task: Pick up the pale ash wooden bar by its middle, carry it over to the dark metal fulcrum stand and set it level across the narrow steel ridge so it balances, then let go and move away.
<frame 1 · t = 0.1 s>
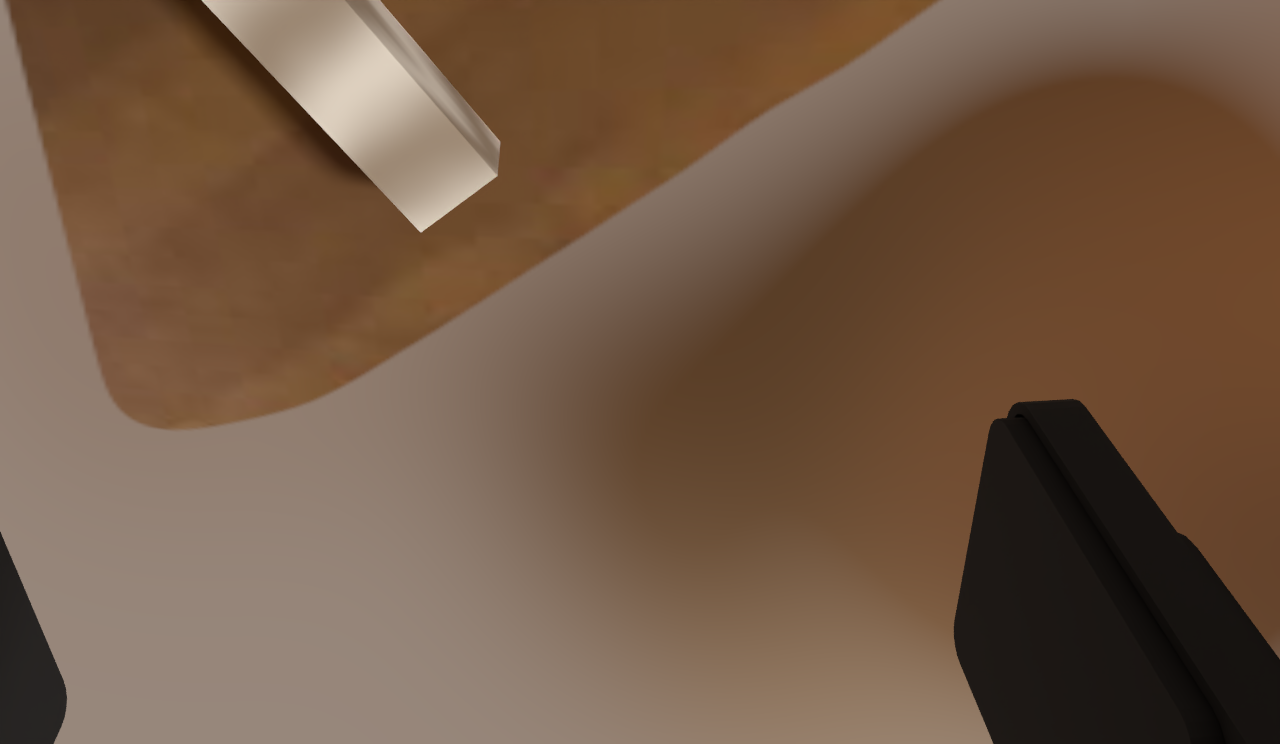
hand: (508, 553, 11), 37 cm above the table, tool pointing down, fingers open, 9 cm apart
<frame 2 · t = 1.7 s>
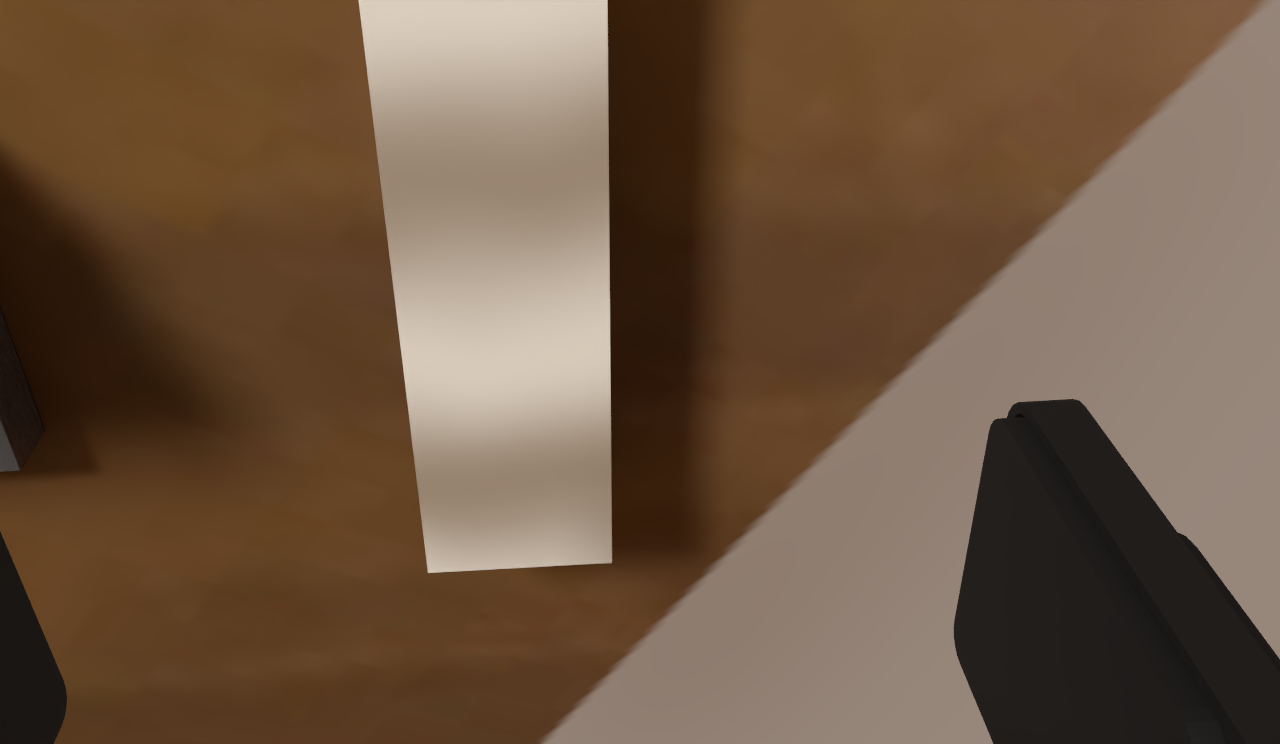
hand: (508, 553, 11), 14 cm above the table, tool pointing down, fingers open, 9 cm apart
ash bar: (499, 107, 23), on the table
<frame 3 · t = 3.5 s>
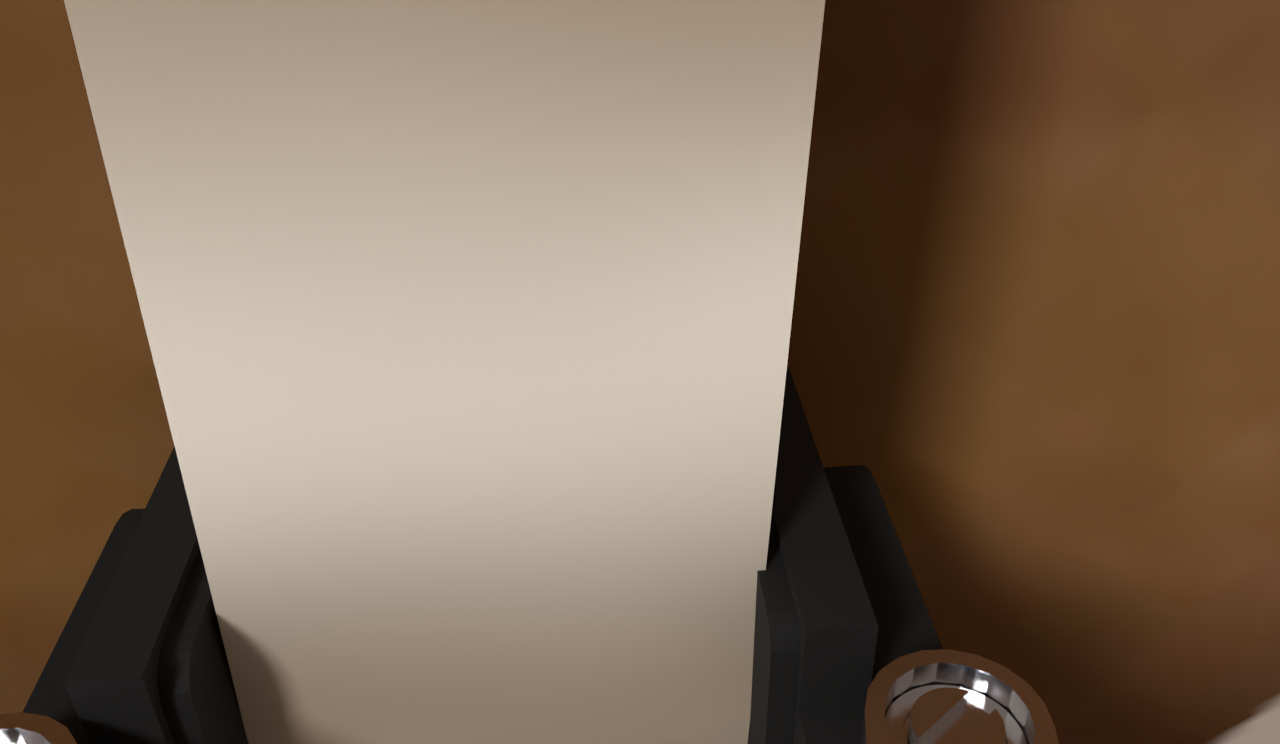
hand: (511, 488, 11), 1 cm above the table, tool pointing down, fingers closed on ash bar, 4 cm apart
ash bar: (513, 434, 12), on the table, touching gripper
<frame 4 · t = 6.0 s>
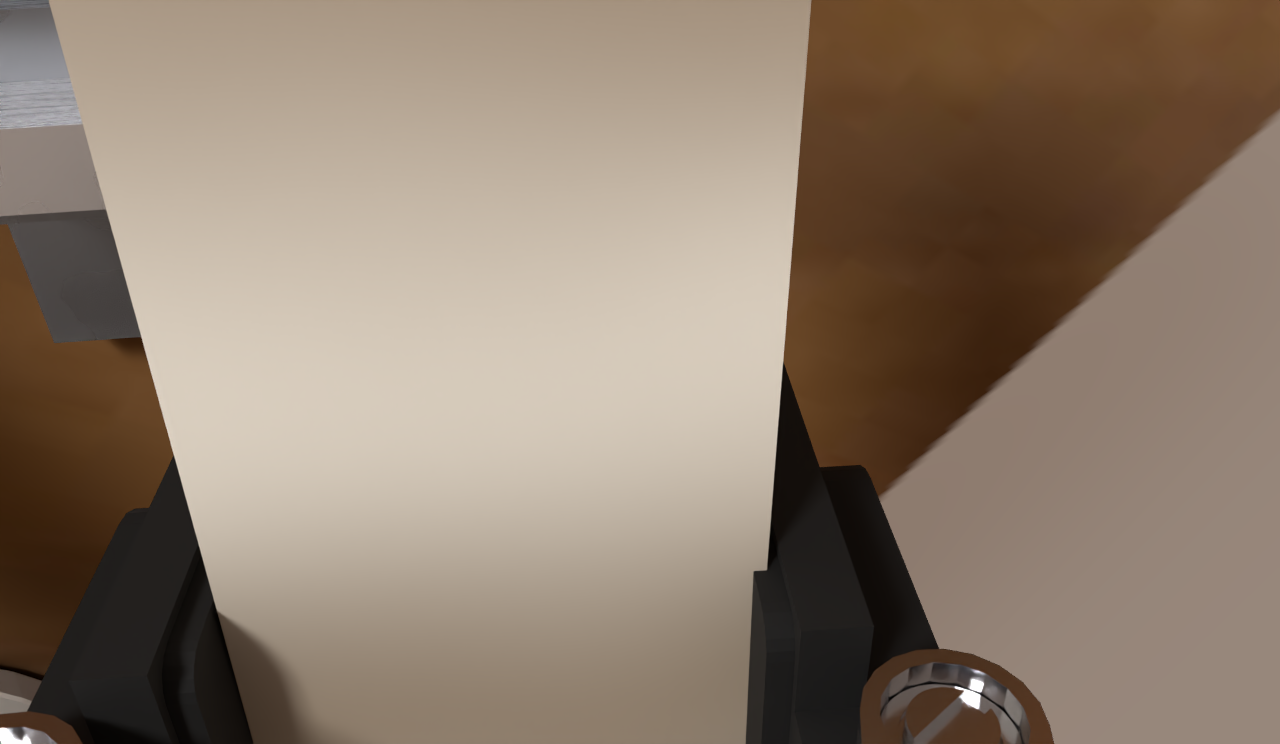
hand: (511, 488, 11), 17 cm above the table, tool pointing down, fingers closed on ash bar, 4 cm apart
fulcrum stand: (155, 30, 25), on the table
ash bar: (517, 434, 12), point 16 cm above the table, touching gripper
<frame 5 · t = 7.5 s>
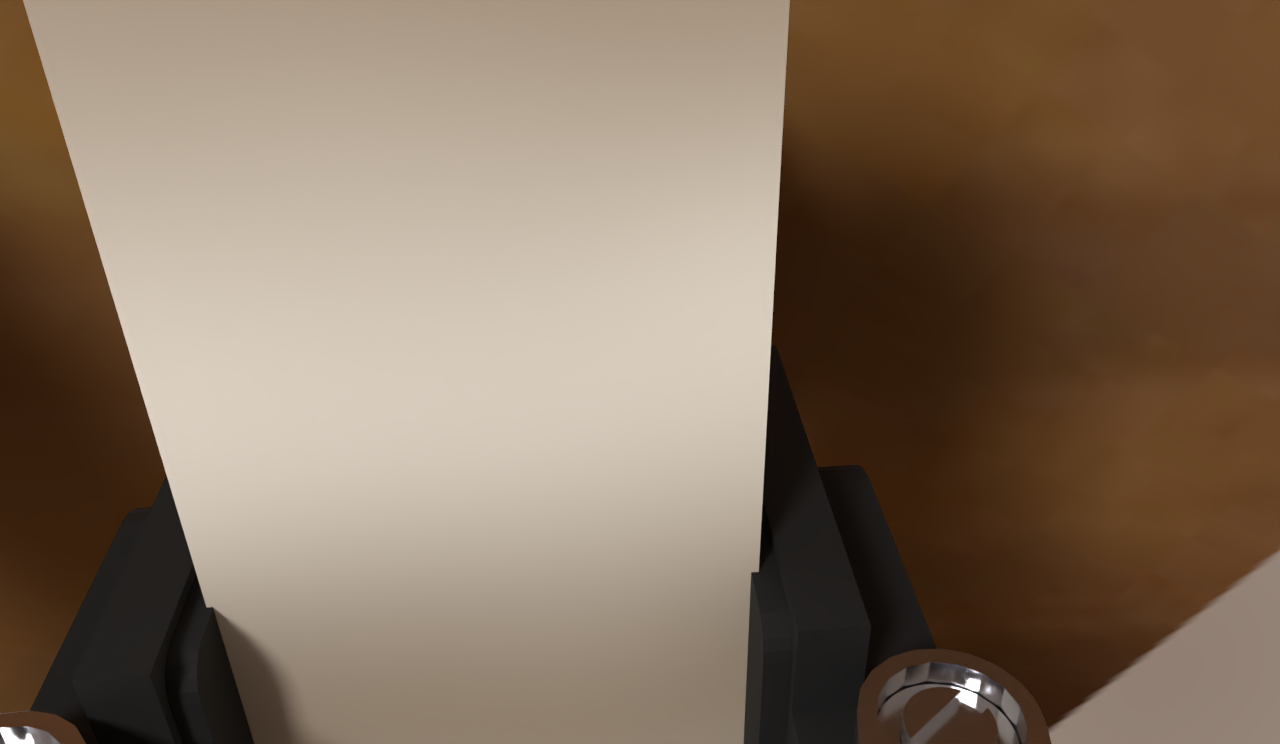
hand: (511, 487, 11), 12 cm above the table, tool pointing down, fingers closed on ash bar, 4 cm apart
ash bar: (513, 435, 12), point 11 cm above the table, touching gripper
when the fingers open (9 cm above the table, at t = 8.7 s): ash bar stays where it is, resting on fulcrum stand.
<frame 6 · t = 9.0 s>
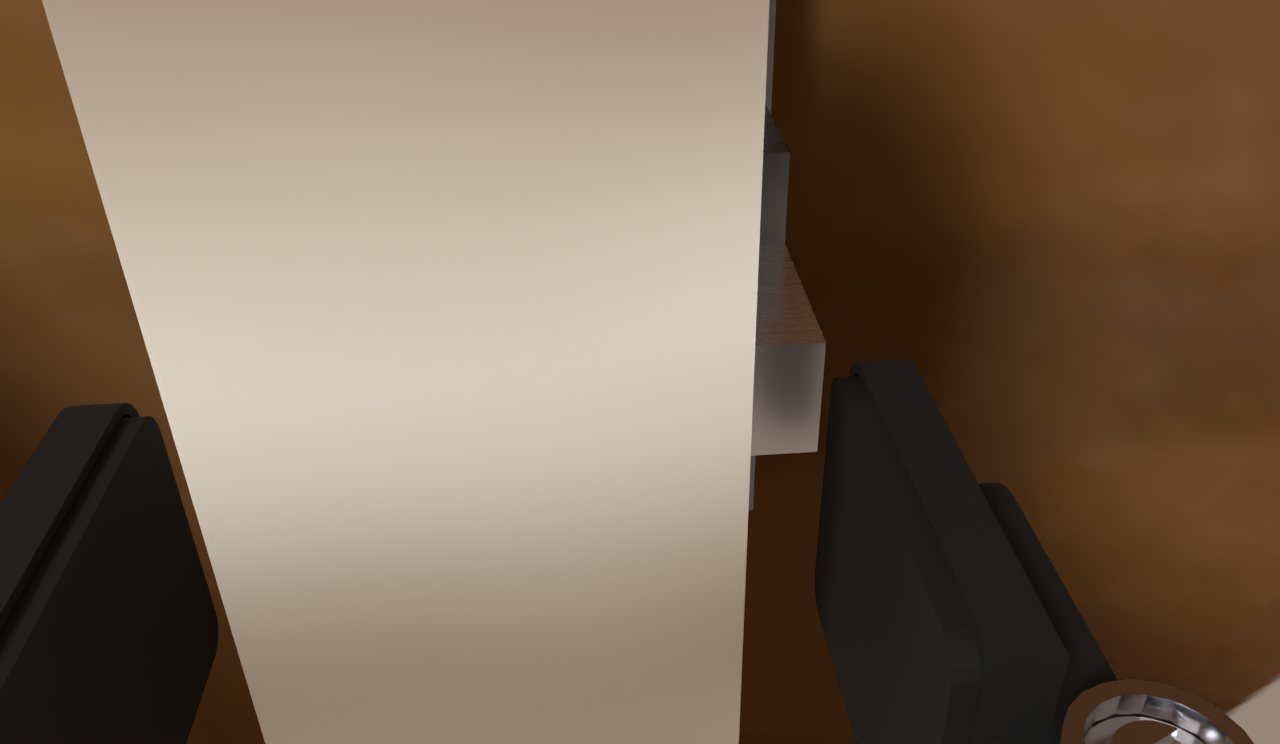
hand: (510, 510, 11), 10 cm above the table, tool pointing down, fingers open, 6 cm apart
fulcrum stand: (524, 153, 19), on the table
ash bar: (512, 421, 13), point 8 cm above the table, touching fulcrum stand
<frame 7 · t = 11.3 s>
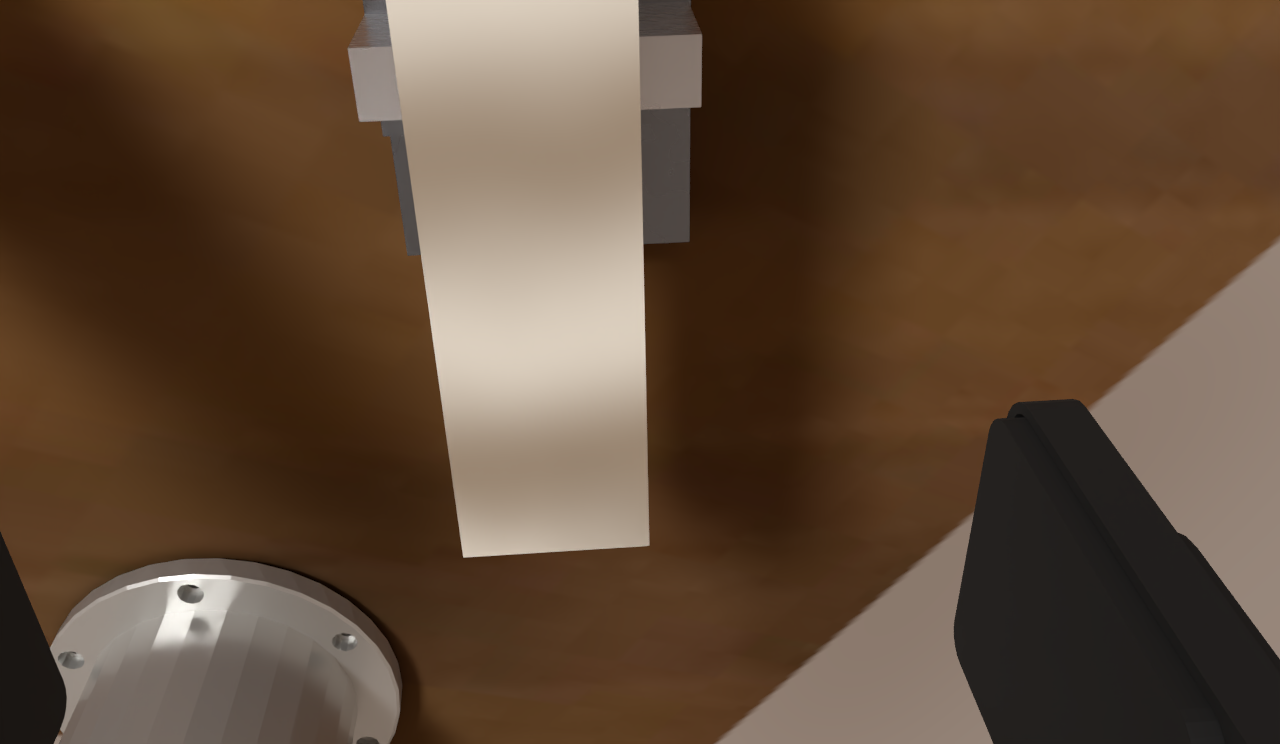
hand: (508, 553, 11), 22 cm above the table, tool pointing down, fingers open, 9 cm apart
ash bar: (528, 81, 23), point 8 cm above the table, touching fulcrum stand
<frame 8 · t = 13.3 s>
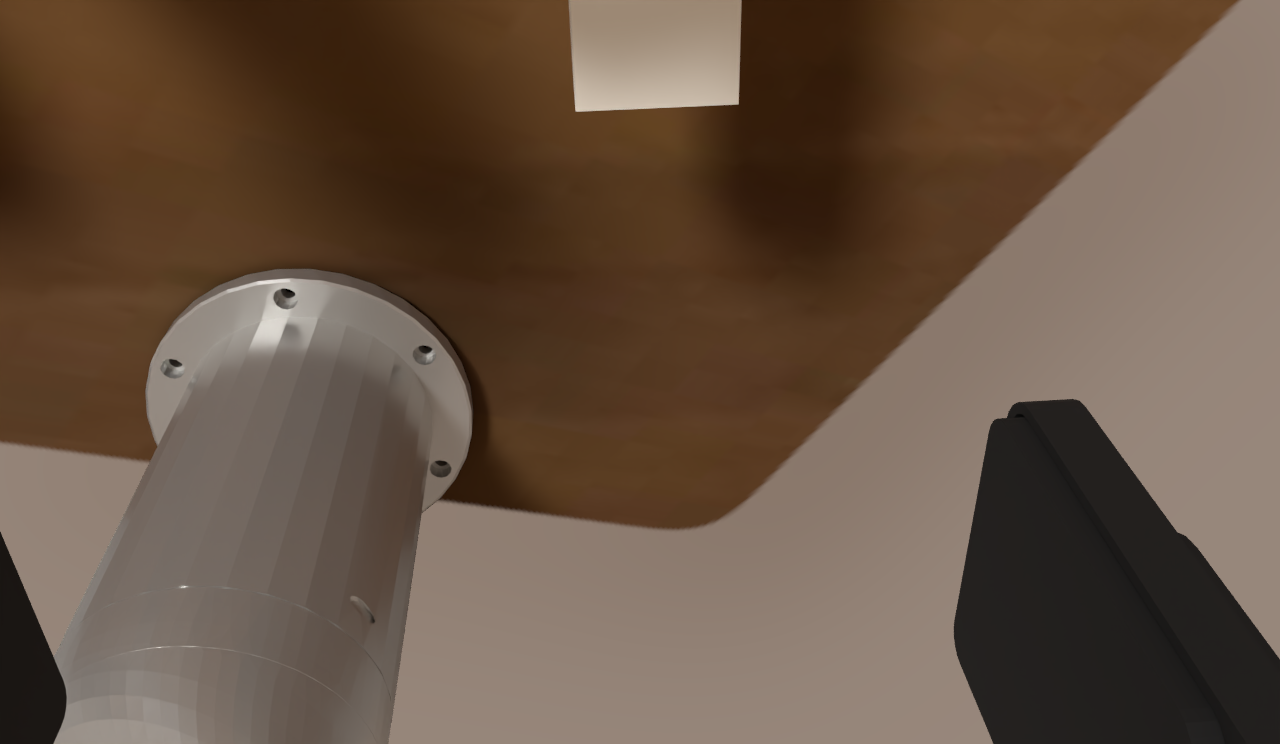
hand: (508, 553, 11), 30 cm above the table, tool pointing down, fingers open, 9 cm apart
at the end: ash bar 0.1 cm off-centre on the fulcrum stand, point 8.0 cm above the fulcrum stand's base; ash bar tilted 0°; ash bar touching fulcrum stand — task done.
